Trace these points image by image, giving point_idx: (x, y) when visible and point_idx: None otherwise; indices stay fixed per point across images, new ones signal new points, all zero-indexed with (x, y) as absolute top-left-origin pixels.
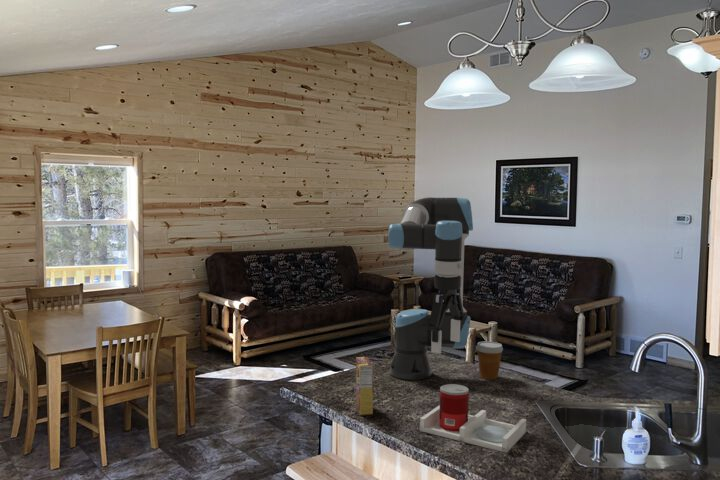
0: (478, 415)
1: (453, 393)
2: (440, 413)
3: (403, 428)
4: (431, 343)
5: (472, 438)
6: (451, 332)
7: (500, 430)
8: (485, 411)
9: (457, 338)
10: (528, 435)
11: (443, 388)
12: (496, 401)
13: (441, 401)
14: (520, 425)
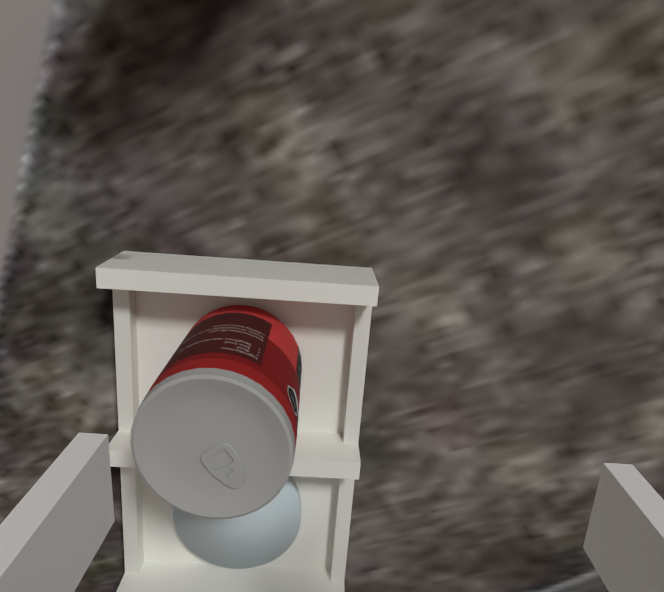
0: None
1: (137, 468)
2: (185, 338)
3: (137, 161)
4: (23, 498)
5: (129, 475)
6: (659, 545)
7: (264, 533)
8: (353, 477)
9: (603, 564)
10: (345, 578)
11: (188, 392)
12: (654, 403)
13: (163, 369)
14: None
